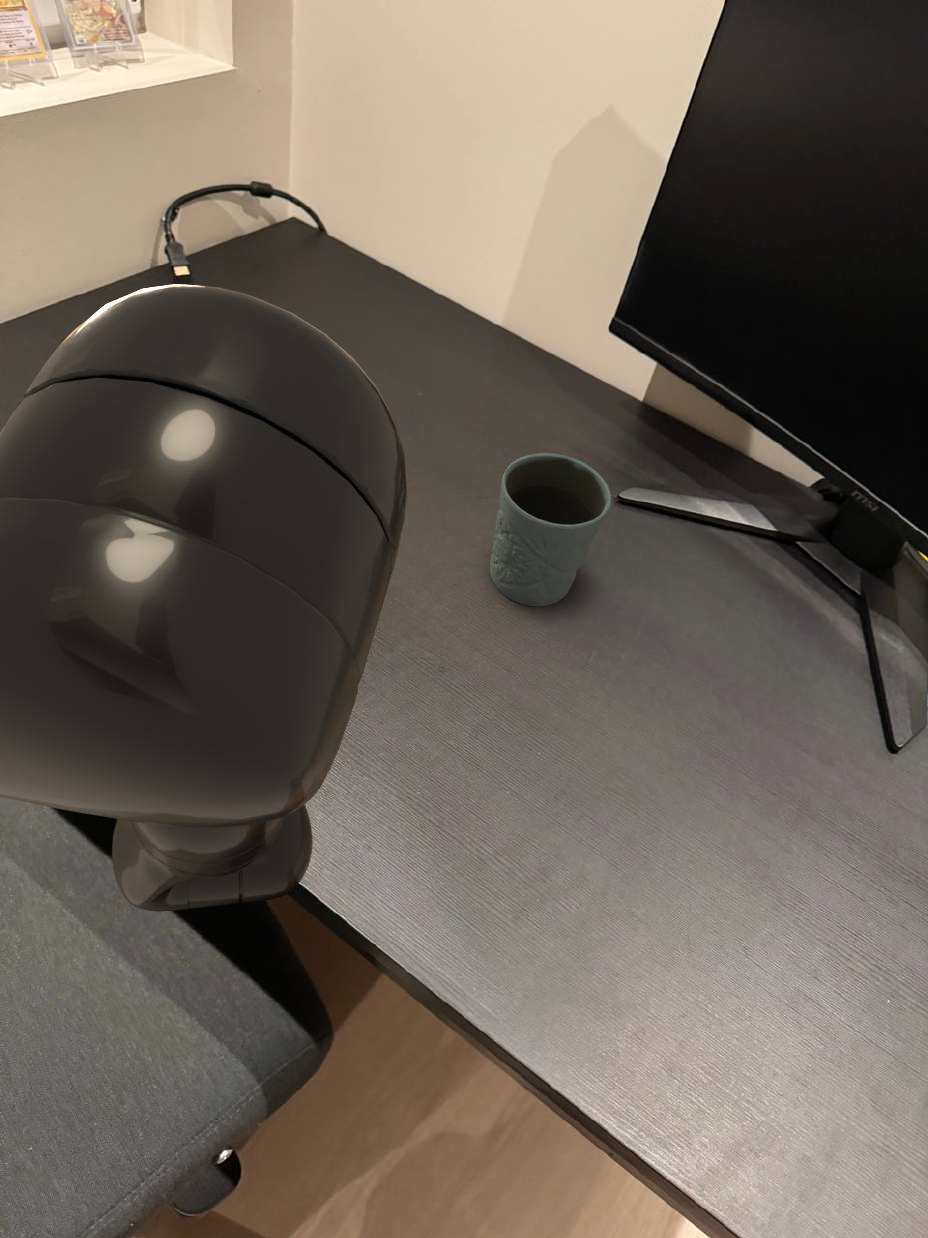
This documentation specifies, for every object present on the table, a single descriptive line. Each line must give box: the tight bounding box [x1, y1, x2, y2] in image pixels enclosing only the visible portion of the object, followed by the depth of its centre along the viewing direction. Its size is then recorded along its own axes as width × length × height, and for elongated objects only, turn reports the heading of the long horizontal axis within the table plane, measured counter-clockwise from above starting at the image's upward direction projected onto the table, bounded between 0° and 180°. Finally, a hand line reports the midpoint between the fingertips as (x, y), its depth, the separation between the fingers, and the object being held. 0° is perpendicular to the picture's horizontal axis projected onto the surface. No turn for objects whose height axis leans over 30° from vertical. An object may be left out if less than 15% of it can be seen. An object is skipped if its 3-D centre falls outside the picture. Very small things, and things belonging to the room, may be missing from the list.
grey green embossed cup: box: [489, 452, 612, 607], centre depth 81 cm, size 10×10×12 cm
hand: (207, 458), depth 67 cm, fingers open, 8 cm apart
